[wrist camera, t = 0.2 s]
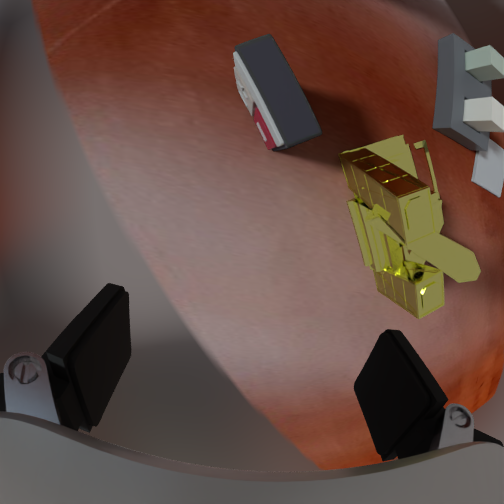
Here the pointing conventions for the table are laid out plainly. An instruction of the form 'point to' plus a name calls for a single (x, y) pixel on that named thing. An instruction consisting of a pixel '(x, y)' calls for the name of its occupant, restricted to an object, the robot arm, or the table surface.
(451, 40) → the plate
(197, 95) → the table surface
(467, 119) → the white plug
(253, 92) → the black block
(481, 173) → the mat
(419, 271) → the crystal
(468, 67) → the sage plug
